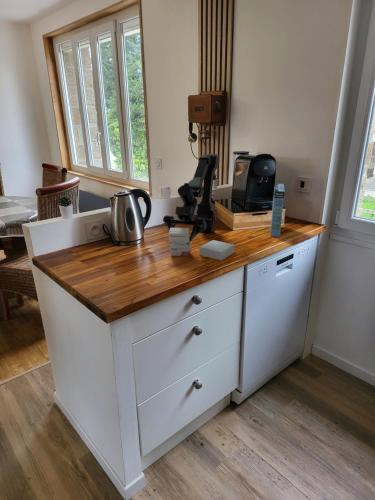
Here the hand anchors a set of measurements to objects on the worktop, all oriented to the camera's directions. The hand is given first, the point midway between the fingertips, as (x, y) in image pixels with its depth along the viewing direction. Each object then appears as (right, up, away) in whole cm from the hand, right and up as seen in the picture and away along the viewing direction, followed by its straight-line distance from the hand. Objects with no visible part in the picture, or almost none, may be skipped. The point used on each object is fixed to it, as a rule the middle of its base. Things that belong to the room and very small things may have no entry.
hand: (179, 239), depth 144 cm
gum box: (+49, +5, +33) cm, 59 cm away
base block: (+16, -6, +4) cm, 18 cm away
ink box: (0, -6, +4) cm, 7 cm away
